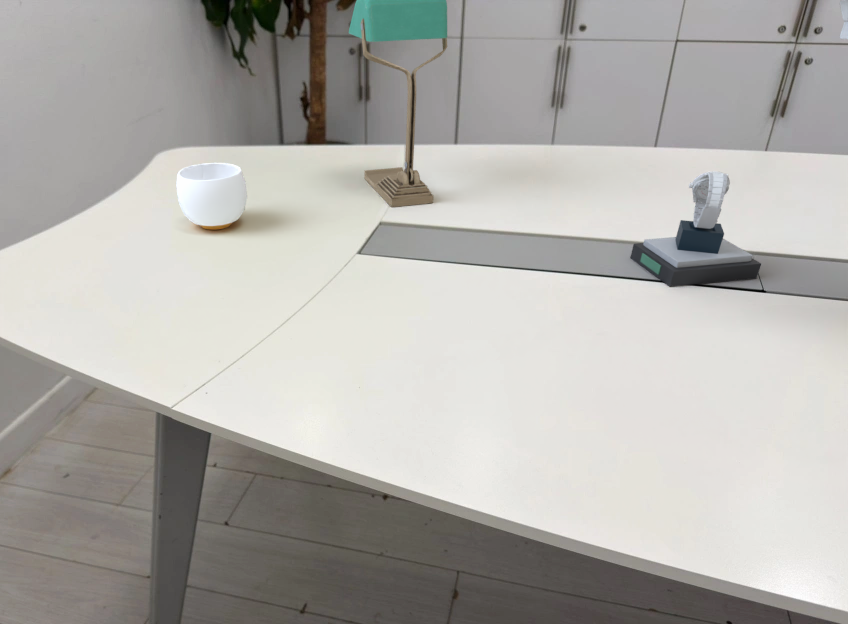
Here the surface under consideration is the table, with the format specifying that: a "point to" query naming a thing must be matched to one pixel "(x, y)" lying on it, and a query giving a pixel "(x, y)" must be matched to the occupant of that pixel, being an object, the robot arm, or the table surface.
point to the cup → (212, 194)
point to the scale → (694, 263)
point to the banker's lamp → (407, 20)
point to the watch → (704, 214)
